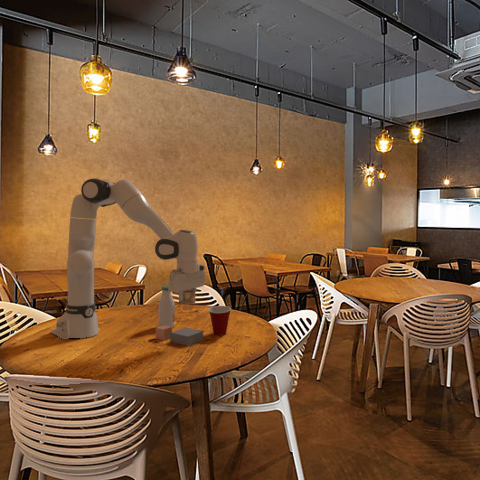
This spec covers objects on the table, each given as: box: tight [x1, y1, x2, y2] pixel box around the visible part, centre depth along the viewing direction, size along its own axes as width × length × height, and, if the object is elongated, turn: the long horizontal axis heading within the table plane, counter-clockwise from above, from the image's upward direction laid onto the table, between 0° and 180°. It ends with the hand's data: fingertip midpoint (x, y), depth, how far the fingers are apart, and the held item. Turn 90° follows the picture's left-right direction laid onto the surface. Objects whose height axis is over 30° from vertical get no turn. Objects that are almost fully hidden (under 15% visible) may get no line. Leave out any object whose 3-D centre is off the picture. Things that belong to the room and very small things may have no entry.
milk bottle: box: [158, 285, 176, 329], centre depth 193 cm, size 8×8×20 cm
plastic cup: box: [207, 305, 232, 336], centre depth 183 cm, size 11×11×12 cm
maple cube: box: [178, 289, 196, 306], centre depth 171 cm, size 5×5×5 cm
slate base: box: [169, 327, 204, 347], centre depth 172 cm, size 10×10×4 cm
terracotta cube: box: [155, 325, 173, 341], centre depth 175 cm, size 5×5×5 cm
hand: (187, 299), depth 171 cm, fingers closed on maple cube, 5 cm apart
